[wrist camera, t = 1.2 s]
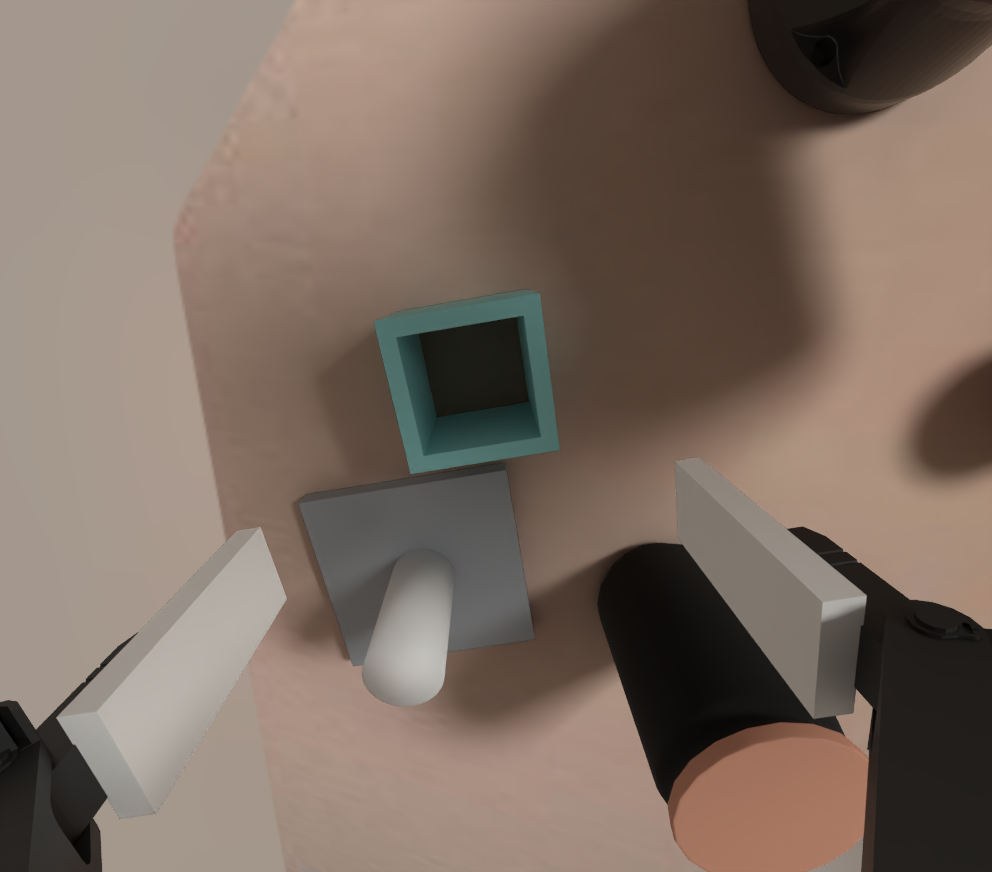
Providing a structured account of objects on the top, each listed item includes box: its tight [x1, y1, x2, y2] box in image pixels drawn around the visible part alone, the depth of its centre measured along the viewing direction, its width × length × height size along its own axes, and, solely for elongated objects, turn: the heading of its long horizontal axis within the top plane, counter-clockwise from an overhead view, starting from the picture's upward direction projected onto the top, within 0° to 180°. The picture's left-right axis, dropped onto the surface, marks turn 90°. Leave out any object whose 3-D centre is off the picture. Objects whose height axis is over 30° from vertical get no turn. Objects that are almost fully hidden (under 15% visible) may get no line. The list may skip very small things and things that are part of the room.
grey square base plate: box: [298, 463, 535, 706], centre depth 34 cm, size 16×16×12 cm
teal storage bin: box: [374, 289, 560, 474], centre depth 30 cm, size 9×9×8 cm
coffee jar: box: [597, 543, 869, 872], centre depth 32 cm, size 11×11×18 cm
